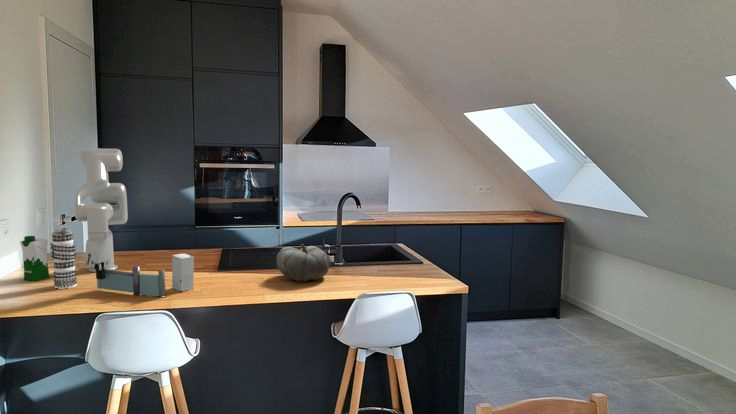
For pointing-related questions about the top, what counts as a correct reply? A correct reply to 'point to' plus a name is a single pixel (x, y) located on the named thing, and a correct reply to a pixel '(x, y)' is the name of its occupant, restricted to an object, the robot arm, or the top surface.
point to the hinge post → (136, 280)
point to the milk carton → (35, 258)
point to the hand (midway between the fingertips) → (100, 278)
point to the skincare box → (182, 272)
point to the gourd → (303, 263)
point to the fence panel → (153, 284)
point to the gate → (116, 281)
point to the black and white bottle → (63, 259)
